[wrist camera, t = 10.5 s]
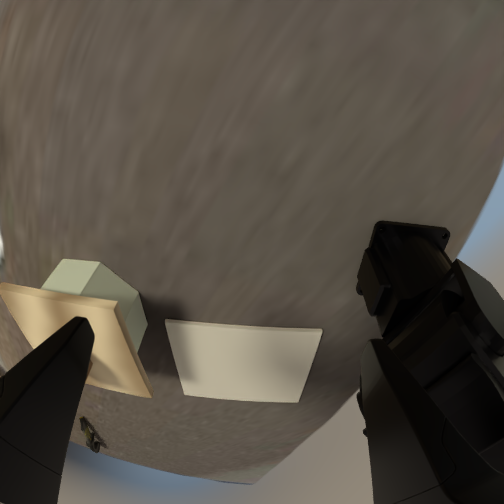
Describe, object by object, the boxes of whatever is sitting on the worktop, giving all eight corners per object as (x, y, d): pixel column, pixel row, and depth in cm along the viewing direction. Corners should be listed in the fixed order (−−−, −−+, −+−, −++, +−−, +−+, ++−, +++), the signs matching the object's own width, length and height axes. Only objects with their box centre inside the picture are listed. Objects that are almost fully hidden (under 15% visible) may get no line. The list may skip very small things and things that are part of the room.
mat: (321, 328, 26) (322, 332, 26) (298, 399, 34) (298, 402, 34) (165, 318, 26) (164, 322, 26) (185, 392, 34) (184, 394, 34)
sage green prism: (131, 264, 23) (107, 308, 19) (153, 343, 28) (140, 384, 24) (40, 256, 23) (12, 291, 19) (73, 328, 29) (56, 363, 25)
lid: (117, 301, 18) (90, 359, 14) (153, 391, 25) (142, 435, 21) (2, 282, 18) (-28, 322, 14) (53, 367, 25) (37, 402, 21)
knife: (81, 403, 48) (74, 422, 44) (88, 405, 48) (80, 424, 44) (95, 442, 59) (91, 457, 55) (101, 444, 60) (96, 459, 55)
